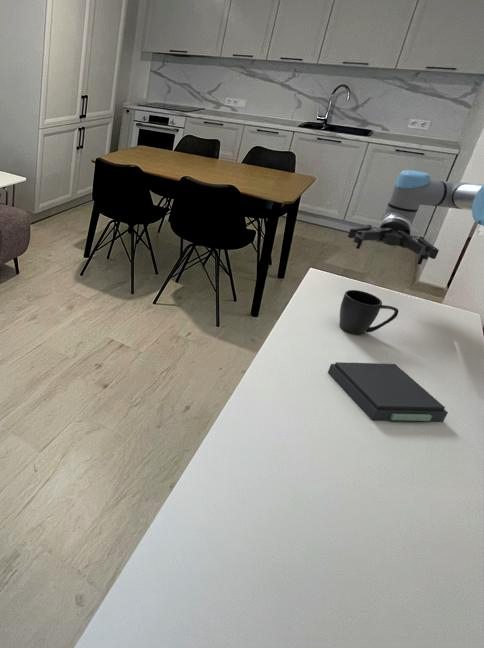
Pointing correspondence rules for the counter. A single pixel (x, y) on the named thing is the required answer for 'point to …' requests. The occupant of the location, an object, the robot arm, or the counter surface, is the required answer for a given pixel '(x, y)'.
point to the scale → (386, 392)
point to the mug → (361, 312)
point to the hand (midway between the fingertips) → (389, 251)
